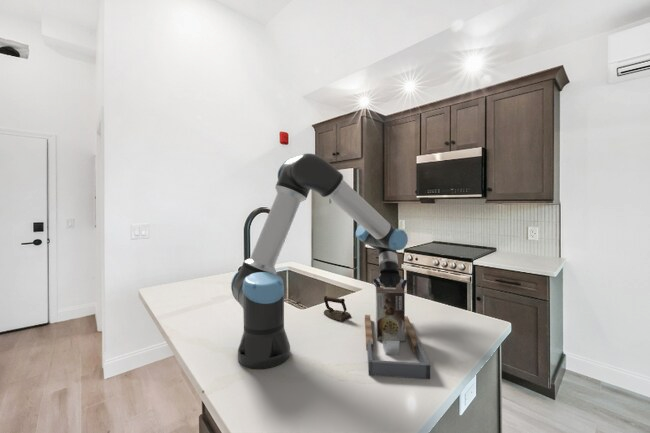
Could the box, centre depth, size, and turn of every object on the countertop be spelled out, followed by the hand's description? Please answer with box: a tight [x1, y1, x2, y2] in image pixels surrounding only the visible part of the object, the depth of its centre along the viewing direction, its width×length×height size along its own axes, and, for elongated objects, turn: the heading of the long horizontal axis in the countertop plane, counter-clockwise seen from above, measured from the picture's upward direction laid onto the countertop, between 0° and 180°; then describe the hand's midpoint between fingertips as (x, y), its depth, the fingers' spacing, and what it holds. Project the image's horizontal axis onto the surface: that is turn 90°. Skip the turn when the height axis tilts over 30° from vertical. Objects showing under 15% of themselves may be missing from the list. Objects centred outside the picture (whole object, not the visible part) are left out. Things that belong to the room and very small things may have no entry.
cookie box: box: [375, 286, 406, 342], centre depth 99 cm, size 9×6×16 cm
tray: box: [366, 339, 431, 380], centre depth 83 cm, size 13×16×4 cm
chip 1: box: [381, 330, 397, 345], centre depth 94 cm, size 4×4×4 cm
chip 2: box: [382, 335, 400, 355], centre depth 90 cm, size 4×4×4 cm
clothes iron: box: [323, 295, 352, 323], centre depth 118 cm, size 7×11×10 cm, turn 54°
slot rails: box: [364, 314, 419, 354], centre depth 102 cm, size 24×16×2 cm, turn 174°
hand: (393, 323), depth 104 cm, fingers closed
